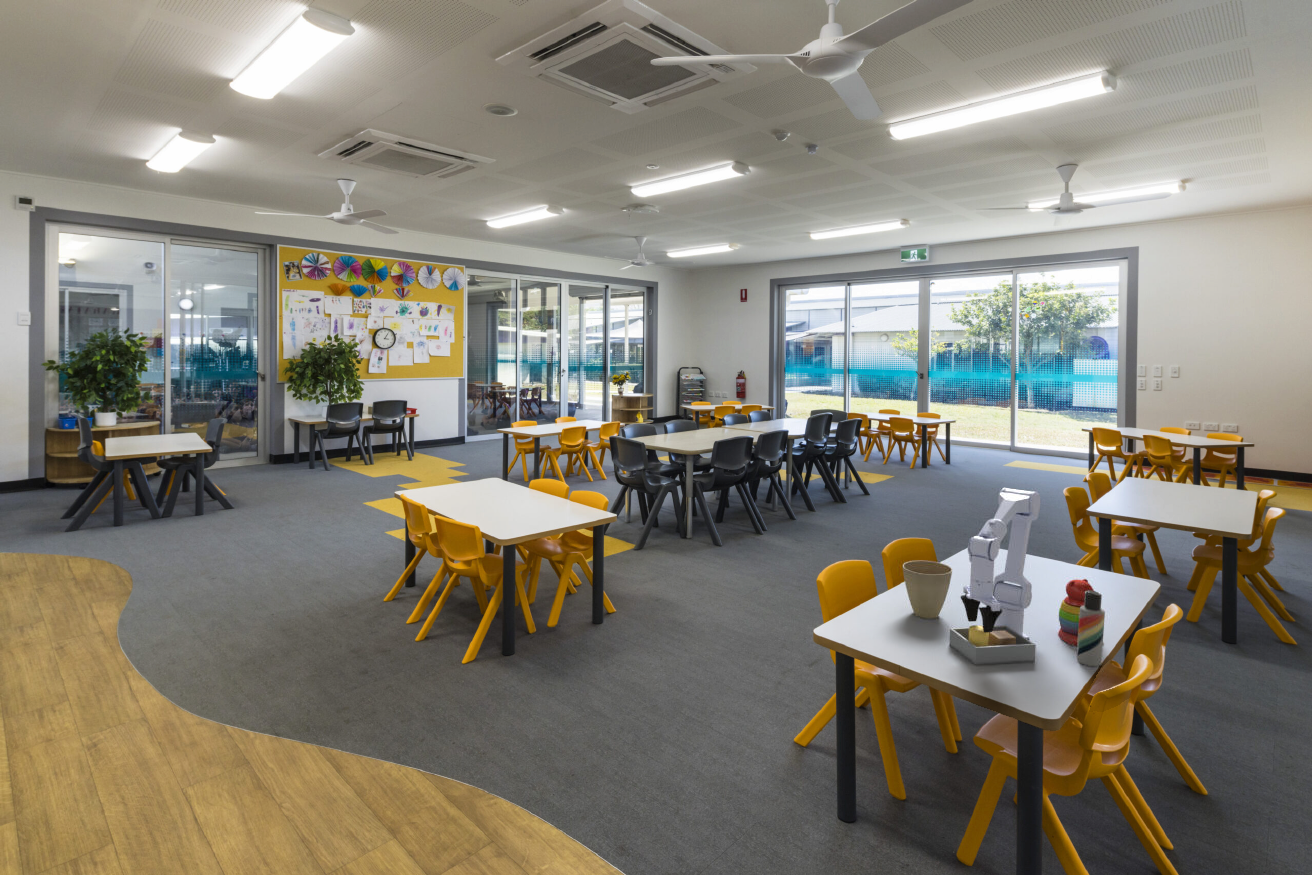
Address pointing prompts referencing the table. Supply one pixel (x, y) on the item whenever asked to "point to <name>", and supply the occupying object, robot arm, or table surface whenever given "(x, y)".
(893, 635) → the table surface
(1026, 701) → the table surface
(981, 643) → the mustard cylinder
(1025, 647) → the tray
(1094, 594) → the lotion bottle
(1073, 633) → the stacking bear
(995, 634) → the wooden block
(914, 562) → the plant pot
